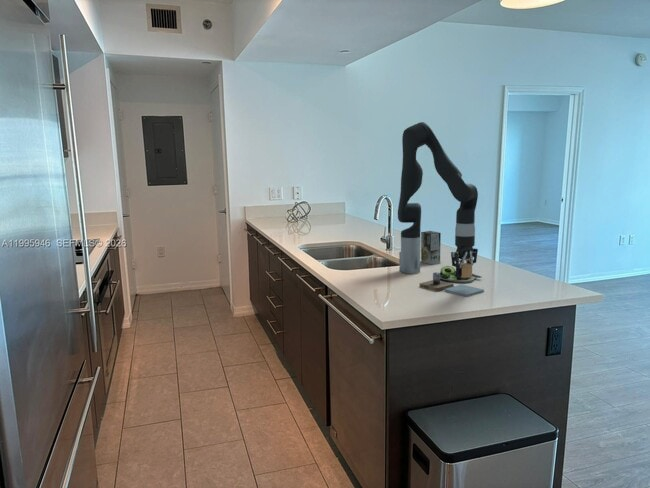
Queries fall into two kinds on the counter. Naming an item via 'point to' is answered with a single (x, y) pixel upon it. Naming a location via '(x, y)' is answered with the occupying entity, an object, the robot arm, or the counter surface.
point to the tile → (464, 290)
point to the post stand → (436, 283)
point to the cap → (466, 270)
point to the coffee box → (430, 247)
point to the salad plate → (454, 276)
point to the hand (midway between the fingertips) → (464, 275)
